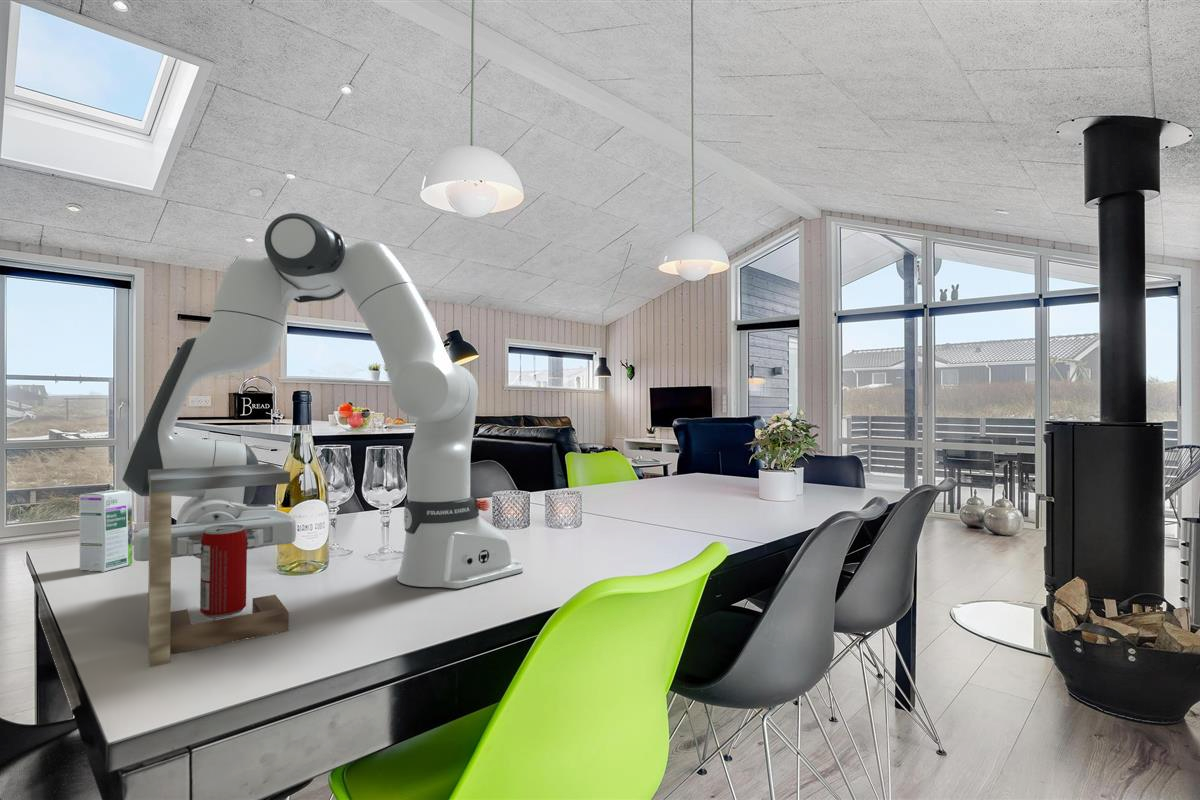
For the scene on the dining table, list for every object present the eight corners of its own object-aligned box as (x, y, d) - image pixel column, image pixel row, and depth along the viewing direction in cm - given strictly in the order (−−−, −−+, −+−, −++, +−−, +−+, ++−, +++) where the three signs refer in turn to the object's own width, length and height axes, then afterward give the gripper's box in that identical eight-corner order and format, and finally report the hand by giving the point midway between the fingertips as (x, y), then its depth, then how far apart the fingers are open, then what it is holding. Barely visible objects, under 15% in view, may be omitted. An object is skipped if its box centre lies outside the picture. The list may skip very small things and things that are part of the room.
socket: (275, 611, 93) (275, 594, 93) (288, 630, 85) (288, 612, 85) (160, 631, 84) (160, 613, 84) (163, 655, 76) (164, 635, 76)
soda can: (255, 607, 88) (256, 523, 88) (222, 620, 83) (222, 532, 83) (225, 602, 90) (225, 520, 89) (190, 615, 84) (191, 528, 84)
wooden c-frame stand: (269, 608, 94) (270, 463, 94) (289, 637, 82) (290, 472, 82) (146, 629, 85) (148, 469, 85) (149, 666, 73) (151, 480, 73)
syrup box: (103, 572, 114) (104, 494, 114) (77, 570, 115) (78, 493, 115) (132, 564, 119) (133, 489, 120) (107, 563, 121) (108, 489, 121)
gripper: (130, 516, 90) (130, 532, 79) (285, 503, 103) (303, 515, 92) (130, 560, 90) (130, 581, 79) (285, 541, 102) (303, 557, 91)
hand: (224, 546), depth 85 cm, fingers closed on soda can, 5 cm apart
